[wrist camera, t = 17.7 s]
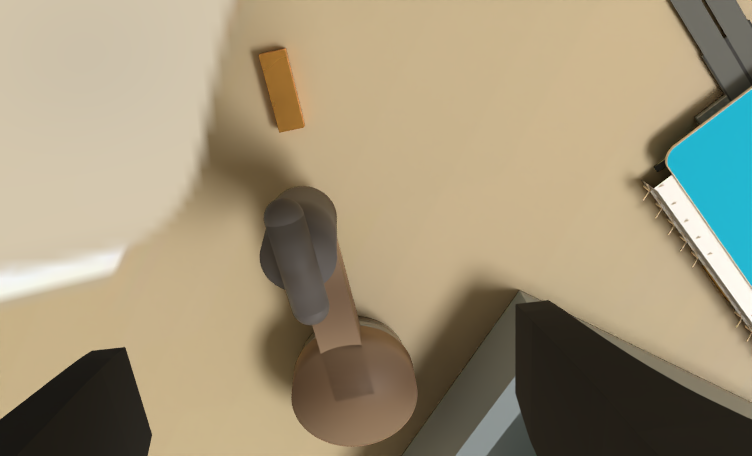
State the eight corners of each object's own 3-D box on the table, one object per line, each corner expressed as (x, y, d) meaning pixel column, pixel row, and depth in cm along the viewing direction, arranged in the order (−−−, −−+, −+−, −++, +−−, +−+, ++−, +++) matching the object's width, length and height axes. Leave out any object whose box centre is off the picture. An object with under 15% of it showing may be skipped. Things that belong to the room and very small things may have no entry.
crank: (423, 410, 23) (443, 514, 19) (310, 434, 23) (305, 543, 19) (360, 134, 19) (367, 186, 14) (221, 166, 19) (187, 227, 14)
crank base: (413, 392, 24) (415, 402, 23) (314, 412, 24) (313, 422, 23) (337, 36, 18) (337, 39, 18) (208, 64, 18) (204, 67, 18)
